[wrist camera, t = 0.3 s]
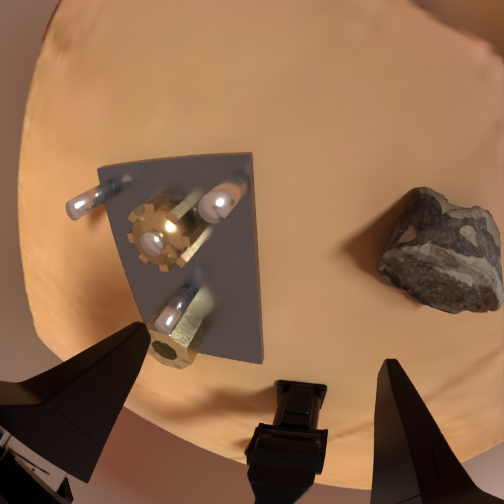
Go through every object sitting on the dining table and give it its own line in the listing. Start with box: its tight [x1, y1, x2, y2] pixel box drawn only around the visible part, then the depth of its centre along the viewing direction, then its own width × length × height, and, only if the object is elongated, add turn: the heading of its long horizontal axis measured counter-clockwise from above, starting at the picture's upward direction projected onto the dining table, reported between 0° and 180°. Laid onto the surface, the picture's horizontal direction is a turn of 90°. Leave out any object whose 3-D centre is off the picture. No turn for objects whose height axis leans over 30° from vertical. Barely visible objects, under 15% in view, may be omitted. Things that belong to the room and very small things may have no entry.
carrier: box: [66, 152, 264, 364], centre depth 24 cm, size 23×15×6 cm, turn 4°
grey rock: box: [378, 186, 504, 314], centre depth 16 cm, size 11×9×10 cm
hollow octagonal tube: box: [147, 305, 205, 369], centre depth 28 cm, size 6×6×4 cm
